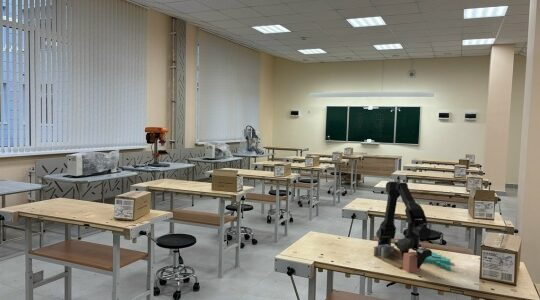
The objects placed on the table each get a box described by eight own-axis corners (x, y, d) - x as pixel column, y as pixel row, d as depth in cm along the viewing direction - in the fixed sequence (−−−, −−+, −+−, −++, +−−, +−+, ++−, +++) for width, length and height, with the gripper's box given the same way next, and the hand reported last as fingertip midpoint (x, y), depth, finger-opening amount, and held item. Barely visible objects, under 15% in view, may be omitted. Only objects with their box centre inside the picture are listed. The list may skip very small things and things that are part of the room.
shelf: (387, 254, 209) (387, 242, 208) (413, 266, 191) (414, 253, 191) (373, 255, 205) (374, 243, 204) (399, 268, 188) (400, 255, 187)
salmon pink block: (413, 267, 190) (414, 251, 190) (419, 270, 186) (420, 254, 186) (402, 269, 187) (403, 253, 187) (408, 272, 184) (409, 256, 183)
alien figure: (450, 271, 188) (450, 259, 206) (450, 267, 188) (450, 255, 206) (406, 264, 196) (410, 252, 214) (406, 259, 196) (410, 248, 214)
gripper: (386, 229, 191) (384, 260, 192) (415, 240, 174) (413, 274, 175) (404, 227, 195) (402, 258, 196) (433, 238, 178) (431, 271, 179)
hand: (411, 265), depth 187 cm, fingers open, 8 cm apart
